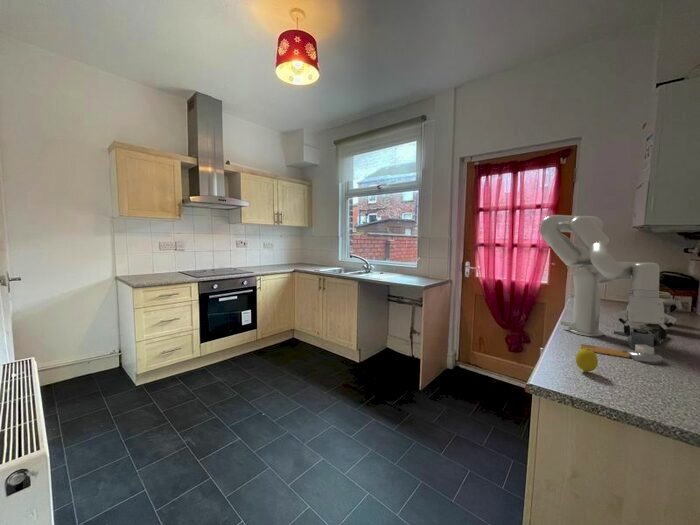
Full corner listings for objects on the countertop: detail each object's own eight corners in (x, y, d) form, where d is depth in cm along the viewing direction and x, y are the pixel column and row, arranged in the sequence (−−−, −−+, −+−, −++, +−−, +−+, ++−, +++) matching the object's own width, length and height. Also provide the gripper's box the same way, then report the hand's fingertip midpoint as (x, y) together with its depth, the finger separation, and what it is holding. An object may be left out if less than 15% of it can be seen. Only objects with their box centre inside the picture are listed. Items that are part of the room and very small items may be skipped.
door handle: (609, 331, 131) (661, 339, 118) (622, 324, 143) (671, 330, 129) (609, 339, 131) (661, 347, 118) (622, 331, 143) (671, 338, 129)
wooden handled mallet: (582, 352, 112) (582, 340, 112) (579, 345, 120) (580, 334, 119) (665, 366, 100) (667, 352, 99) (657, 357, 107) (658, 344, 107)
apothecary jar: (641, 330, 140) (644, 292, 139) (633, 323, 151) (636, 289, 149) (677, 334, 134) (680, 295, 133) (667, 327, 144) (670, 291, 143)
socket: (631, 348, 117) (632, 329, 116) (627, 343, 122) (628, 325, 121) (652, 351, 113) (654, 332, 113) (647, 346, 118) (649, 328, 118)
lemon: (598, 377, 92) (600, 352, 91) (576, 373, 95) (577, 349, 94) (595, 371, 96) (596, 347, 96) (574, 367, 99) (575, 344, 99)
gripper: (617, 293, 117) (617, 336, 118) (680, 296, 108) (679, 342, 108) (613, 291, 123) (613, 331, 124) (673, 294, 114) (671, 337, 115)
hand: (644, 336), depth 116 cm, fingers open, 9 cm apart
